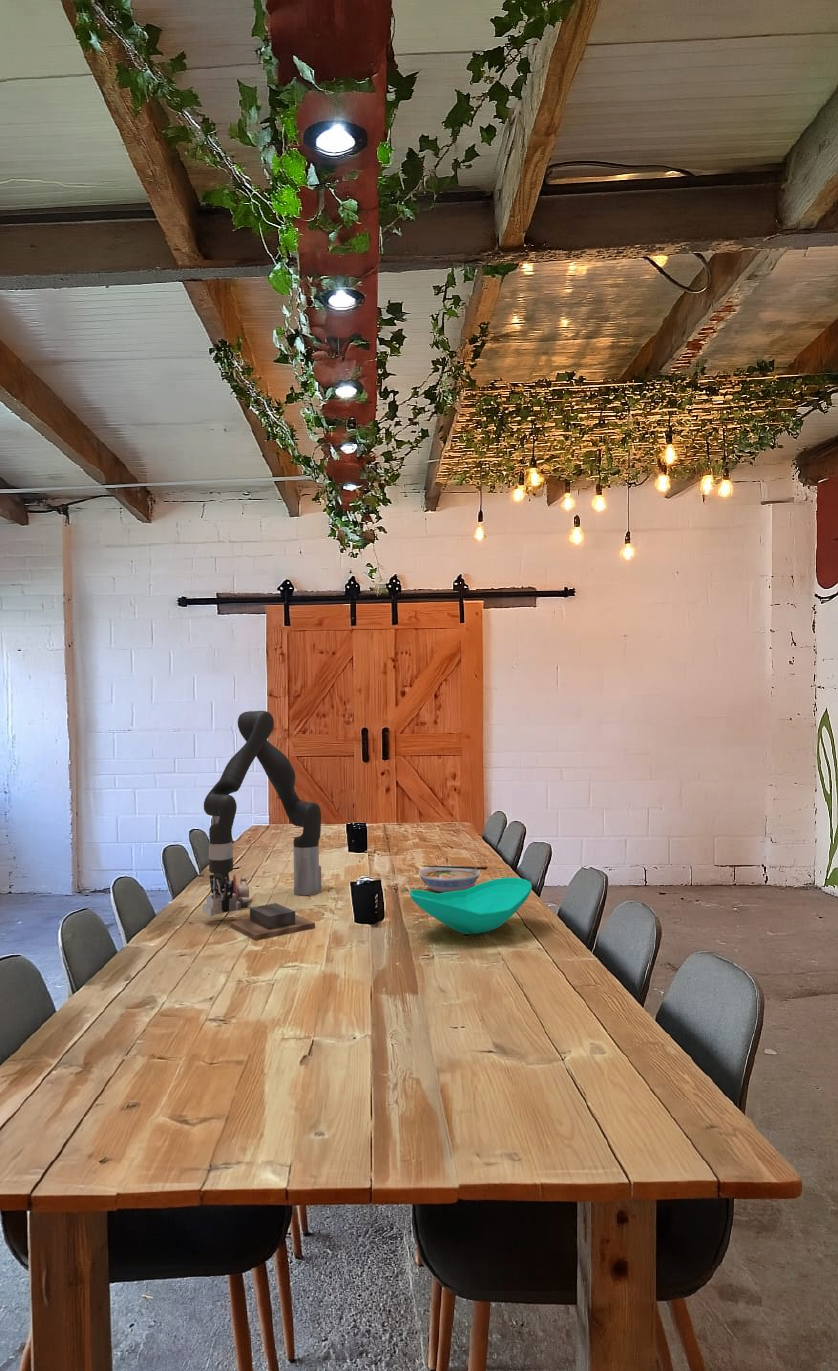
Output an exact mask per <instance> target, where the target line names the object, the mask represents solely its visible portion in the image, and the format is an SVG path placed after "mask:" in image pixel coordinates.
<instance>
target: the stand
mask: <svg viewBox="0 0 838 1371" xmlns="http://www.w3.org/2000/svg"><path fill="white" fill-rule="evenodd" d="M249 908H250V909H249V918H245V919H239V920H234V921H230V922H229V927H230V928H231V929H233V930H235V931H236V932H238V933H241V934H242V935H245V936H246V937H248V938H251V939H252V940H254V941H259V940H264V939H269V938H273V937H279V936H283V935H287V934H292V933H296V932H301V931H306V930H310V929H311V930H312V929H315V928H316V923H315V922H314V921H311V920H309V919H307V918H305V917H303V916H300V915H297V914H296V911H295V910H293V909H291V908H288V907H286V906H284V905H281V904H278V903H276V902H274V903H269V904H263V905H256V906H253V907H249Z"/></svg>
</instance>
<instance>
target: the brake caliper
mask: <svg viewBox="0 0 838 1371" xmlns="http://www.w3.org/2000/svg"><path fill="white" fill-rule="evenodd" d="M232 877H233V878H232V880H233V881H234V885H233V893H234V894H236V895H237V901H238V902H240V903H241V910H240V911H242V910H250V908H251V907H248V906H249V904H251V903H252V902H253V897H251V898H250V889H249V885H247V877H243V876H241V877H240V881H239V882H240V884H237V876H236V873H234V874H233V876H232Z"/></svg>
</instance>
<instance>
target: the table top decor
mask: <svg viewBox="0 0 838 1371" xmlns="http://www.w3.org/2000/svg"><path fill="white" fill-rule="evenodd" d="M532 889H533V885H532V882H531V881H528V880H527V879H526V878H525V879H524V878H520V877H510V876H509V877H508V876H507V877H501V878H494V879H491V880H488V881H484V882H481V883H478V884H476V885H472V886H471V887H470V888H468V889H466V890H460V891H452V892H445V893H440V892H439V893H437V892H431V891H428V890H424V889H423V890H422V889H411V890H410V891H409V895H410V898H411V900H412V901H413V902H414V903H415V904H416V905H417V907H419V908H420V909H421V910H422V911H424V912H425V913H427V914H428V915H430V916H431V917H432V918H434V919H436V920H437V921H439V922H441V923H442V924H444V925H445V926H448V928H450V929H453V930H454V931H456V932H457V933H460V934H465V935H478V934H483V933H486V932H491V931H493V930H496V929H498V928H500V927H501V926H502V925H503V924H504V923H506V922H507V921H508V920H509V919H510V918H511V917H512V916H513V915H515V913H517V911H518V910H519V909H520V907H521V906H522V905H523V904H524V903H525V902H526V901H527V899H528V897H529V896H530V894H531V892H532Z"/></svg>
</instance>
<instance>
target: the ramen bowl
mask: <svg viewBox="0 0 838 1371" xmlns="http://www.w3.org/2000/svg"><path fill="white" fill-rule="evenodd" d="M423 867H425V868H421V869H419V870H418V874H419V877H420V879H421V880H422V882H423V883H424V884H425V885H426V887H428V888H430V889H431V890H433V891H436V892H439V893H445V892H452V891H460V890H466V889H469V888H471V887H473V886H474V884H475V883H476V882H477V880H478V879H479V877H480V875H481V871H482V870H484V871H486V870H488V866H473V865H472V866H470V865H469V866H465V865H423Z"/></svg>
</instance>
